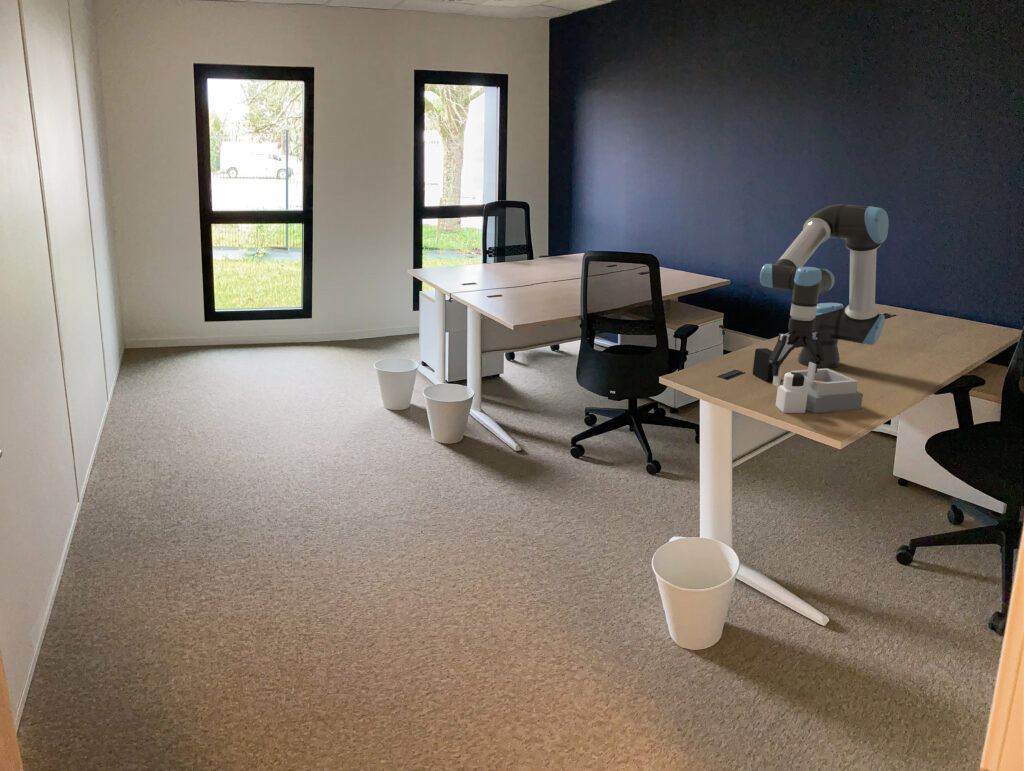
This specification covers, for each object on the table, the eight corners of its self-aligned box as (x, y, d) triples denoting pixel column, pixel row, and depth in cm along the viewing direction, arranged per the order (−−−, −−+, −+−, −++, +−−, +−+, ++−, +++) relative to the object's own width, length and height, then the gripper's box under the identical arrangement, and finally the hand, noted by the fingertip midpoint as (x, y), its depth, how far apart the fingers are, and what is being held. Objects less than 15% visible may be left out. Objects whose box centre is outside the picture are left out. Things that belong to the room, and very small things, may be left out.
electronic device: (767, 382, 295) (770, 355, 292) (752, 374, 304) (755, 348, 301) (777, 382, 296) (781, 354, 293) (762, 374, 305) (765, 347, 302)
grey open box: (824, 392, 286) (828, 366, 283) (860, 408, 270) (865, 382, 267) (779, 395, 280) (783, 370, 278) (814, 413, 264) (817, 386, 261)
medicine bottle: (796, 406, 271) (801, 370, 267) (805, 413, 264) (810, 377, 260) (775, 405, 270) (779, 370, 266) (783, 413, 263) (788, 376, 260)
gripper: (827, 313, 265) (817, 377, 272) (761, 316, 258) (753, 383, 265) (842, 318, 258) (832, 384, 265) (776, 322, 251) (767, 390, 258)
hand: (793, 384), depth 265 cm, fingers open, 12 cm apart
